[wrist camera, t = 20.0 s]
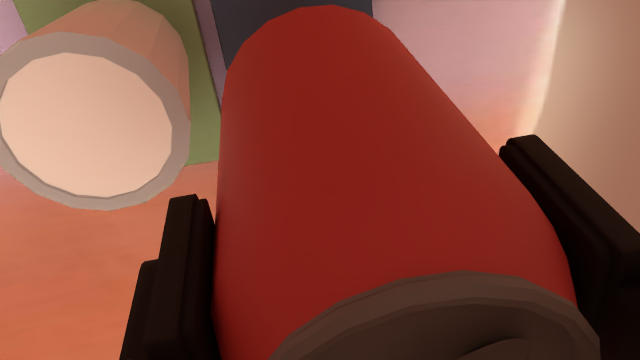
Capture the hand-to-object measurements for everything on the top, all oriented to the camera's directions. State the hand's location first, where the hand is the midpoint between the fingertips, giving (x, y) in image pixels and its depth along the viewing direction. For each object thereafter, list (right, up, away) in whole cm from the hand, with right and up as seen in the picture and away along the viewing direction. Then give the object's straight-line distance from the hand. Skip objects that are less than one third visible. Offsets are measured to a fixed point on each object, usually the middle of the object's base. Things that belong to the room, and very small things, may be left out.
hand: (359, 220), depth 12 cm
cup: (-10, +7, +11) cm, 16 cm away
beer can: (-1, +4, +6) cm, 7 cm away
